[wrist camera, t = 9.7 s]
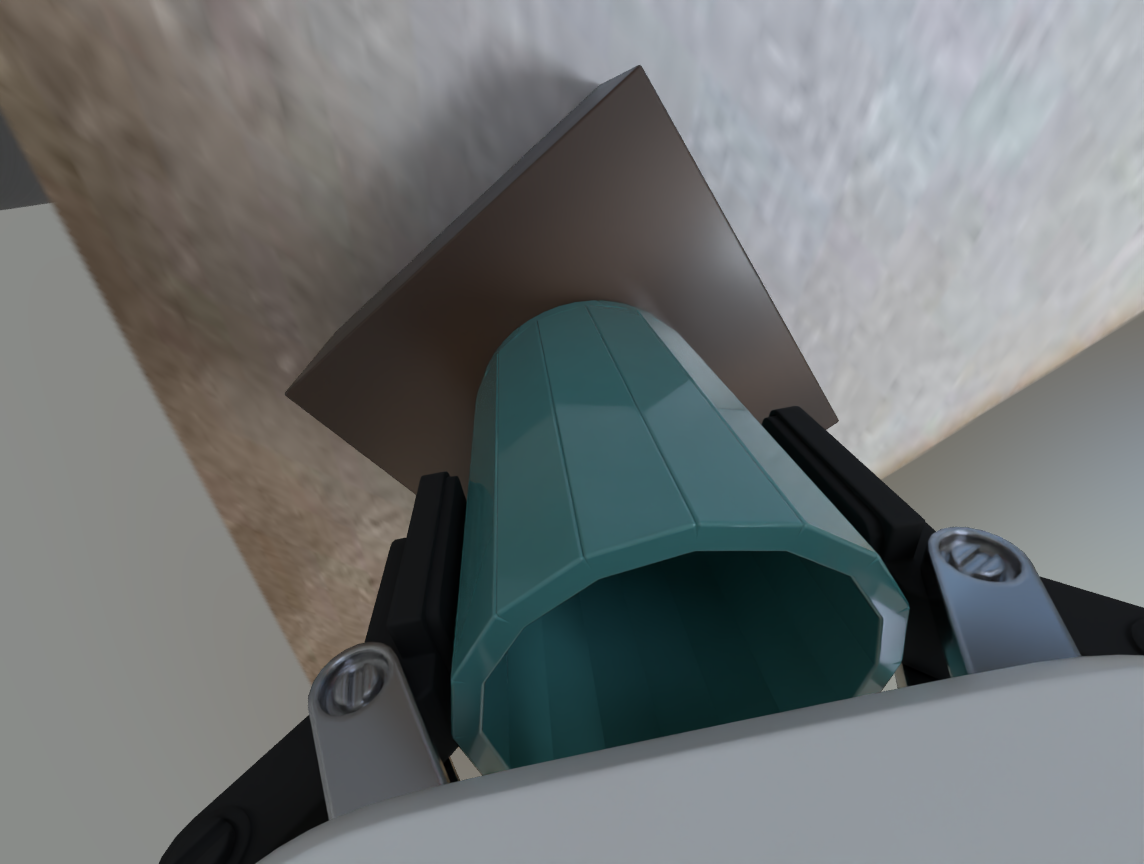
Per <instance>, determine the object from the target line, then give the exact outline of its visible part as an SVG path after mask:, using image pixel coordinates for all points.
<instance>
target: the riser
mask: <svg viewBox="0 0 1144 864" xmlns="http://www.w3.org/2000/svg"><path fill="white" fill-rule="evenodd" d="M590 300H598V301H613V302H619V303H624V304H628V305H631V306H635V307H638V308H640V309H642V310H644V311H647V312H649V313H651V314H653V315H654V316H656V317H657V318H659V319H660V320H662V321H663V322H665V323H666V324H667V325H668V326H669V327H670V328H672V329H674V330H675V331H677V333H679V334H680V335H681V336H682V338H683V339H684V340H685V341H686V342H687V343H688V344H689V345H690V346H691V347H692V349H693V350H694V351H695V352H696V353H697V354H698V355H699V356H700V357H701V359H702V360H703V361H704V362H705V363H706V364H707V365H708V366H709V367H710V368H711V370H712V371H713V372H714V373H715V374H716V375H717V376H718V377H719V378H720V380H721V381H722V382H723V383H724V384H725V385H726V386H727V387H728V388H729V389H730V391H731V392H732V393H733V394H734V395H735V396H736V397H737V398H738V399H739V401H740V402H741V403H742V404H743V405H744V406H745V407H746V408H747V409H748V410H749V412H750V413H751V414H752V415H753V416H754V417H755V418H756V419H757V420H758V422H759V423H760V424H761V425H762V421H763V419H764V418H766V417H769V414H770V412H771V411H772V410H775V409H781V408H786V407H791V406H799V407H801V408H802V409H803V410H804V411H805V412H806V413H807V414H809V415H810V416H811V417H812V418H813V419H814V420H815V421H816V422H817V423H818V424H820V425H821V426H822V427H823V428H824V429H825V430H826V429H828V428H830V427H831V426H833V425H834V424H836V423H837V422H838V421H839V420H838V418H837V416H836V414H835V412H834V411H833V409H832V407H831V405H830V404H829V402H828V400H827V398H826V396H825V395H824V393H823V391H822V389H821V387H820V386H819V384H818V382H817V380H816V378H815V377H814V375H813V373H812V371H811V369H810V368H809V366H808V364H807V362H806V360H805V359H804V357H803V355H802V353H801V351H800V350H799V348H798V346H797V344H796V342H795V341H794V339H793V337H792V335H791V333H790V332H789V330H788V328H787V326H786V324H785V323H784V321H783V319H782V317H781V316H780V314H779V312H778V310H777V308H776V307H775V305H774V303H773V301H772V299H771V298H770V296H769V294H768V292H767V290H766V289H765V287H764V285H763V283H762V281H761V280H760V278H759V276H758V274H757V272H756V271H755V269H754V267H753V265H752V263H751V262H750V260H749V258H748V256H747V254H746V253H745V251H744V249H743V247H742V245H741V244H740V242H739V240H738V238H737V236H736V235H735V233H734V231H733V229H732V228H731V226H730V224H729V222H728V220H727V219H726V217H725V215H724V213H723V211H722V210H721V208H720V206H719V204H718V202H717V201H716V199H715V197H714V195H713V193H712V192H711V190H710V188H709V186H708V184H707V183H706V181H705V179H704V177H703V175H702V174H701V172H700V170H699V168H698V166H697V165H696V163H695V161H694V159H693V157H692V156H691V154H690V152H689V150H688V148H687V147H686V145H685V143H684V141H683V140H682V138H681V136H680V134H679V132H678V131H677V129H676V127H675V125H674V123H673V122H672V120H671V118H670V116H669V114H668V113H667V111H666V109H665V107H664V105H663V104H662V102H661V100H660V98H659V96H658V95H657V93H656V91H655V89H654V87H653V86H652V84H651V82H650V80H649V78H648V77H647V75H646V73H645V71H644V69H643V68H642V66H640V65H638V66H636V67H634V68H632V69H630V70H628V71H626V72H624V73H622V74H620V75H618V76H616V77H614V78H612V79H611V80H609V81H607V82H605V83H603V84H601V85H599V86H598V87H597V88H596V89H595V90H594V91H593V92H592V93H590V94H589V95H588V96H587V97H586V98H585V99H584V100H583V101H582V102H581V103H580V104H579V105H578V106H577V107H575V108H574V109H573V110H572V111H571V112H570V113H569V114H568V115H567V116H566V117H565V118H564V119H563V120H562V121H561V122H559V123H558V124H557V125H556V126H555V127H554V128H553V129H552V130H551V131H550V132H549V133H548V134H547V135H546V136H545V137H543V138H542V139H541V140H540V141H539V142H538V143H537V144H536V145H535V146H534V147H533V148H532V149H531V150H530V151H528V152H527V153H526V154H525V155H524V156H523V157H522V158H521V159H520V160H519V161H518V162H517V163H516V164H515V165H514V166H512V167H511V168H510V169H509V170H508V171H507V172H506V173H505V174H504V175H503V176H502V177H501V178H500V179H499V180H498V181H496V182H495V183H494V184H493V185H492V186H491V187H490V188H489V189H488V190H487V191H486V192H485V193H484V194H483V195H481V196H480V197H479V198H478V199H477V200H476V201H475V202H474V203H473V204H472V205H471V206H470V207H469V208H468V209H467V210H465V211H464V212H463V213H462V214H461V215H460V216H459V217H458V218H457V219H456V220H455V221H454V222H453V223H452V224H451V225H449V226H448V227H447V228H446V229H445V230H444V231H443V232H442V233H441V234H440V235H439V236H438V237H437V238H436V239H434V240H433V241H432V242H431V243H430V244H429V245H428V246H427V247H426V248H425V249H424V250H423V251H422V252H421V253H420V254H418V255H417V256H416V257H415V258H414V259H413V260H412V261H411V262H410V263H409V264H408V265H407V266H406V267H405V268H404V269H402V270H401V271H400V272H399V273H398V274H397V275H396V276H395V277H394V278H393V279H392V280H391V281H390V282H389V283H387V284H386V285H385V286H384V287H383V288H382V289H381V290H380V291H379V292H378V293H377V294H376V295H375V296H374V297H373V298H371V299H370V300H369V301H368V302H367V303H366V304H365V305H364V306H363V307H362V308H361V309H360V310H359V311H358V312H357V313H355V314H354V315H353V316H352V317H351V318H350V319H349V320H348V321H347V322H346V323H345V324H344V325H343V326H342V327H340V328H339V329H338V330H337V331H336V332H335V333H334V335H333V336H332V337H331V338H330V339H329V341H328V342H327V343H326V344H325V345H324V346H323V348H322V349H321V350H320V351H319V352H318V354H317V355H316V356H315V357H314V358H313V360H312V361H311V362H310V363H309V364H308V366H307V367H306V368H305V369H304V370H303V372H302V373H301V374H300V375H299V376H298V377H297V379H296V380H295V381H294V382H293V383H292V385H291V386H290V387H289V388H288V389H287V391H286V392H285V395H286V396H287V397H288V398H289V399H291V400H292V401H293V402H295V403H296V404H297V405H299V406H300V407H301V408H303V409H304V410H305V411H306V412H308V413H309V414H310V415H312V416H313V417H314V418H316V419H317V420H318V421H320V422H321V423H322V424H324V425H325V426H326V427H328V428H329V429H330V430H331V431H333V432H334V433H335V434H337V435H338V436H339V437H341V438H342V439H343V440H345V441H346V442H347V443H349V444H350V445H351V446H353V447H354V448H355V449H357V450H358V451H359V452H360V453H362V454H363V455H364V456H366V457H367V458H368V459H370V460H371V461H372V462H374V463H375V464H376V465H378V466H379V467H380V468H382V469H383V470H384V471H385V472H387V473H388V474H389V475H391V476H392V477H393V478H395V479H396V480H397V481H399V482H400V483H401V484H403V485H404V486H405V487H407V488H408V489H409V490H410V491H412V492H413V493H414V494H416V495H417V491H418V487H419V482H420V479H421V476H423V475H428V474H434V473H439V472H444V471H447V472H448V473H449V475H450V477H452V476H458V478H459V480H460V482H461V486H462V489H463V492H464V495H465V498H466V501H467V493H468V482H469V471H470V460H471V449H472V438H473V427H474V416H475V405H476V396H477V392H478V390H479V387H480V383H481V379H482V376H483V374H484V372H485V369H486V367H487V365H488V363H489V361H490V360H491V358H492V356H493V355H494V353H495V352H496V350H497V349H498V348H499V347H500V345H501V344H502V343H503V342H504V340H505V339H506V338H508V337H509V336H510V335H511V334H512V333H513V332H514V331H515V330H516V329H517V328H519V327H520V326H521V325H523V324H524V323H526V322H527V321H528V320H530V319H532V318H534V317H535V316H537V315H539V314H541V313H543V312H545V311H548V310H550V309H553V308H555V307H558V306H562V305H566V304H570V303H574V302H581V301H590Z"/></svg>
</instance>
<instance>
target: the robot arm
mask: <svg viewBox="0 0 1144 864" xmlns="http://www.w3.org/2000/svg"><path fill="white" fill-rule="evenodd" d="M762 426H763V427H764V428H765V429H766V430H767V432H768V433H769V434H770V435H771V436H772V437H773V438H774V439H775V440H776V441H777V443H778V444H779V445H780V446H781V447H782V448H783V449H784V450H785V451H786V453H787V454H788V455H789V456H790V457H791V458H792V459H793V460H794V461H795V462H796V464H797V465H798V466H799V467H800V468H801V469H802V470H803V471H804V472H805V474H806V475H807V476H808V477H809V478H810V479H811V480H812V481H813V482H814V483H815V485H816V486H817V487H818V488H819V489H820V490H821V491H822V492H823V493H824V495H825V496H826V497H827V498H828V499H829V500H830V501H831V502H832V503H833V504H834V506H835V507H836V508H837V509H838V510H839V511H840V512H841V513H842V514H843V516H844V517H845V518H846V519H847V520H848V521H849V522H850V523H851V524H852V525H853V527H854V528H855V529H856V530H857V531H858V532H859V533H860V534H861V535H862V537H863V538H864V539H865V540H866V541H867V542H868V543H869V544H870V545H871V546H872V548H873V549H874V550H875V551H876V552H877V553H878V554H879V555H880V557H881V558H882V560H883V561H884V563H885V565H886V566H887V568H888V570H889V571H890V573H891V574H892V576H893V578H894V579H895V581H896V582H897V584H898V586H899V587H900V589H901V591H902V592H903V594H904V595H905V597H906V599H907V600H908V602H909V607H910V614H909V621H908V628H907V635H906V642H905V649H904V656H903V660H902V661H901V665H900V666H899V667H898V669H897V670H896V672H895V677H896V683H897V688H898V689H894V690H889V691H884V692H879V693H874V694H869V695H864V696H859V697H854V698H849V699H844V700H839V701H834V702H829V703H824V704H819V705H814V706H809V707H805V708H800V709H795V710H790V711H785V712H780V713H776V714H771V715H766V716H761V717H756V718H751V719H746V720H742V721H737V722H732V723H727V724H722V725H718V726H713V727H708V728H703V729H698V730H693V731H689V732H684V733H679V734H674V735H669V736H665V737H660V738H655V739H650V740H645V741H641V742H636V743H631V744H627V745H622V746H617V747H613V748H608V749H603V750H599V751H594V752H589V753H584V754H580V755H575V756H570V757H566V758H561V759H556V760H552V761H547V762H542V763H537V764H533V765H528V766H523V767H519V768H514V769H509V770H505V771H501V772H496V773H492V774H488V775H483V776H479V777H475V778H471V779H466V780H462V781H460V779H459V776H458V774H457V772H456V769H455V767H454V765H453V762H452V760H451V757H450V756H451V755H452V753H453V752H454V751H455V750H456V749H457V748H458V745H457V744H456V742H455V741H454V740H453V738H452V735H451V702H450V679H451V668H452V657H453V646H454V635H455V624H456V613H457V602H458V591H459V580H460V570H461V559H462V548H463V537H464V526H465V515H466V504H467V501H466V498H465V495H464V492H463V489H462V486H461V482H460V480H459V478H458V476H452V477H450V475H449V473H448V472H447V471H444V472H439V473H434V474H428V475H423V476H421V479H420V482H419V487H418V491H417V495H416V499H415V504H414V508H413V512H412V516H411V521H410V525H409V529H408V533H407V538H402V539H397V540H394V541H393V542H392V545H391V547H390V550H389V554H388V558H387V561H386V565H385V569H384V573H383V576H382V580H381V584H380V587H379V591H378V595H377V599H376V602H375V606H374V610H373V613H372V617H371V621H370V625H369V628H368V632H367V636H366V639H365V643H361V644H357V645H355V646H353V647H350V648H348V649H346V650H344V651H343V652H341V653H340V654H338V655H337V656H335V657H334V658H333V659H332V660H331V661H330V662H329V663H328V664H327V665H326V666H325V667H324V668H323V669H322V670H321V671H320V673H319V674H318V676H317V677H316V679H315V680H314V682H313V684H312V687H311V690H310V693H309V695H308V710H309V716H307V717H306V718H305V719H304V720H303V721H302V722H300V723H299V724H298V725H297V726H296V727H295V728H294V729H293V730H292V731H290V732H289V733H288V734H287V735H286V736H285V737H284V738H283V739H282V740H281V741H279V742H278V743H277V744H276V745H275V746H274V747H273V748H272V749H271V750H269V751H268V752H267V753H266V754H265V755H264V756H263V757H262V758H260V759H259V760H258V761H257V762H256V763H255V764H254V765H253V766H252V767H251V768H249V769H248V770H247V771H246V772H245V773H244V774H243V775H242V776H240V777H239V778H238V779H237V780H236V781H235V782H234V783H233V784H232V785H231V786H229V787H228V788H227V789H226V790H225V791H224V792H223V793H222V794H220V795H219V796H218V797H217V798H216V799H215V800H214V801H213V802H212V803H210V804H209V805H208V806H207V807H206V808H205V809H204V810H203V811H202V812H200V813H199V814H198V815H197V816H196V817H195V818H194V819H193V820H192V821H191V822H190V823H189V824H188V825H187V826H186V827H185V828H184V829H183V830H182V831H181V832H180V833H179V834H178V835H177V836H176V838H175V839H174V840H173V842H172V843H171V845H170V846H169V847H168V849H167V850H166V852H165V853H164V855H163V856H162V858H161V860H160V862H159V864H1144V608H1143V607H1139V606H1136V605H1133V604H1129V603H1126V602H1122V601H1119V600H1116V599H1113V598H1110V597H1106V596H1103V595H1099V594H1096V593H1093V592H1089V591H1086V590H1083V589H1080V588H1076V587H1073V586H1070V585H1066V584H1063V583H1060V582H1056V581H1053V580H1050V579H1046V578H1043V577H1040V576H1039V575H1038V573H1037V572H1036V570H1035V567H1034V566H1033V564H1032V562H1031V561H1030V559H1029V558H1028V557H1027V556H1026V554H1025V553H1024V552H1023V551H1022V550H1020V549H1019V548H1018V547H1016V546H1015V545H1014V544H1012V543H1011V542H1009V541H1007V540H1005V539H1003V538H1001V537H999V536H997V535H995V534H992V533H989V532H986V531H983V530H979V529H974V528H968V527H949V528H944V529H940V530H938V531H937V532H936V531H935V530H934V529H932V527H930V526H929V525H928V524H927V523H926V522H925V520H924V519H923V518H922V517H921V516H920V515H919V514H918V513H917V512H916V511H914V510H913V509H912V508H911V507H910V506H909V505H908V504H907V503H906V502H904V501H903V500H902V499H901V498H900V497H899V496H898V495H897V494H896V493H894V491H892V490H891V489H890V488H889V487H888V486H887V485H886V484H885V483H884V482H882V481H881V480H880V479H879V478H878V477H877V476H876V475H875V474H874V473H873V472H871V471H870V470H869V469H868V468H867V467H866V466H865V465H864V464H863V463H861V462H860V461H859V460H858V459H857V458H856V457H855V456H854V455H853V454H852V453H850V452H849V451H848V450H847V449H846V448H845V447H844V446H843V445H842V444H841V443H839V442H838V441H837V440H836V439H835V438H834V437H833V436H832V435H831V434H829V433H828V432H827V431H826V430H825V429H824V428H823V427H822V426H821V425H820V424H818V423H817V422H816V421H815V420H814V419H813V418H812V417H811V416H810V415H809V414H807V413H806V412H805V411H804V410H803V409H802V408H801V407H799V406H791V407H786V408H781V409H775V410H772V411H771V412H770V414H769V417H766V418H764V419H763V421H762Z"/></svg>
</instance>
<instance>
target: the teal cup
mask: <svg viewBox="0 0 1144 864" xmlns="http://www.w3.org/2000/svg"><path fill="white" fill-rule="evenodd" d="M909 614H910V607H909V602H908V600H907V599H906V597H905V595H904V594H903V592H902V591H901V589H900V587H899V586H898V584H897V582H896V581H895V579H894V578H893V576H892V574H891V573H890V571H889V570H888V568H887V566H886V565H885V563H884V561H883V560H882V558H881V557H880V555H879V554H878V553H877V552H876V551H875V550H874V549H873V548H872V546H871V545H870V544H869V543H868V542H867V541H866V540H865V539H864V538H863V537H862V535H861V534H860V533H859V532H858V531H857V530H856V529H855V528H854V527H853V525H852V524H851V523H850V522H849V521H848V520H847V519H846V518H845V517H844V516H843V514H842V513H841V512H840V511H839V510H838V509H837V508H836V507H835V506H834V504H833V503H832V502H831V501H830V500H829V499H828V498H827V497H826V496H825V495H824V493H823V492H822V491H821V490H820V489H819V488H818V487H817V486H816V485H815V483H814V482H813V481H812V480H811V479H810V478H809V477H808V476H807V475H806V474H805V472H804V471H803V470H802V469H801V468H800V467H799V466H798V465H797V464H796V462H795V461H794V460H793V459H792V458H791V457H790V456H789V455H788V454H787V453H786V451H785V450H784V449H783V448H782V447H781V446H780V445H779V444H778V443H777V441H776V440H775V439H774V438H773V437H772V436H771V435H770V434H769V433H768V432H767V430H766V429H765V428H764V427H763V426H762V425H761V424H760V423H759V422H758V420H757V419H756V418H755V417H754V416H753V415H752V414H751V413H750V412H749V410H748V409H747V408H746V407H745V406H744V405H743V404H742V403H741V402H740V401H739V399H738V398H737V397H736V396H735V395H734V394H733V393H732V392H731V391H730V389H729V388H728V387H727V386H726V385H725V384H724V383H723V382H722V381H721V380H720V378H719V377H718V376H717V375H716V374H715V373H714V372H713V371H712V370H711V368H710V367H709V366H708V365H707V364H706V363H705V362H704V361H703V360H702V359H701V357H700V356H699V355H698V354H697V353H696V352H695V351H694V350H693V349H692V347H691V346H690V345H689V344H688V343H687V342H686V341H685V340H684V339H683V338H682V336H681V335H680V334H679V333H677V331H675V330H674V329H672V328H670V327H669V326H668V325H667V324H666V323H665V322H663V321H662V320H660V319H659V318H657V317H656V316H654V315H653V314H651V313H649V312H647V311H644V310H642V309H640V308H638V307H635V306H631V305H628V304H624V303H619V302H613V301H598V300H590V301H581V302H574V303H570V304H566V305H562V306H558V307H555V308H553V309H550V310H548V311H545V312H543V313H541V314H539V315H537V316H535V317H534V318H532V319H530V320H528V321H527V322H526V323H524V324H523V325H521V326H520V327H519V328H517V329H516V330H515V331H514V332H513V333H512V334H511V335H510V336H509V337H508V338H506V339H505V340H504V342H503V343H502V344H501V345H500V347H499V348H498V349H497V350H496V352H495V353H494V355H493V356H492V358H491V360H490V361H489V363H488V365H487V367H486V369H485V372H484V374H483V376H482V379H481V383H480V387H479V390H478V392H477V396H476V405H475V416H474V427H473V438H472V449H471V460H470V471H469V482H468V493H467V504H466V515H465V526H464V537H463V548H462V559H461V570H460V580H459V591H458V602H457V613H456V624H455V635H454V646H453V657H452V668H451V679H450V702H451V735H452V738H453V740H454V741H455V742H456V744H457V745H458V746H459V747H460V749H461V750H462V751H463V752H464V754H465V755H466V756H467V757H468V758H469V760H470V761H471V762H472V763H473V765H474V766H475V767H476V768H477V770H478V771H479V772H480V773H481V775H482V776H483V775H488V774H492V773H496V772H501V771H505V770H509V769H514V768H519V767H523V766H528V765H533V764H537V763H542V762H547V761H552V760H556V759H561V758H566V757H570V756H575V755H580V754H584V753H589V752H594V751H599V750H603V749H608V748H613V747H617V746H622V745H627V744H631V743H636V742H641V741H645V740H650V739H655V738H660V737H665V736H669V735H674V734H679V733H684V732H689V731H693V730H698V729H703V728H708V727H713V726H718V725H722V724H727V723H732V722H737V721H742V720H746V719H751V718H756V717H761V716H766V715H771V714H776V713H780V712H785V711H790V710H795V709H800V708H805V707H809V706H814V705H819V704H824V703H829V702H834V701H839V700H844V699H849V698H854V697H859V696H864V695H869V694H874V693H879V692H881V691H882V690H883V688H884V687H885V686H886V684H887V683H888V681H889V680H890V679H891V677H892V676H893V674H894V673H895V672H896V670H897V669H898V667H899V666H900V665H901V661H902V660H903V656H904V649H905V642H906V635H907V628H908V621H909Z"/></svg>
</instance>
